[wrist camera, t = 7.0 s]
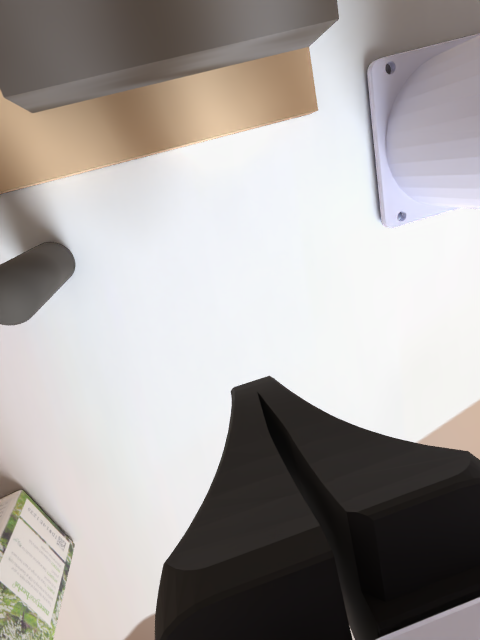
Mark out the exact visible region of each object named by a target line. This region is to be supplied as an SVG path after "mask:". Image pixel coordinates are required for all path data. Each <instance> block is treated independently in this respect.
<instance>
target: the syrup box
mask: <svg viewBox="0 0 480 640" xmlns="http://www.w3.org/2000/svg"><path fill="white" fill-rule="evenodd" d="M73 550H74V543H73V542H72V541H71V540H70V539H69V538H68V536H67V535H66V534H64V533H63V532H62V531H61V529H60V528H59V527H58V526H57V525H56V524H55V523H54V522H53V521H52V520H51V519H50V518H49V517H48V516H47V515H46V514H45V513H44V512H43V511H42V510H41V509H40V508H39V506H38V505H37V504H36V503H35V502H34V501H33V500H32V499H31V498H30V497H29V496H28V495H27V494H26V493H25V492H24V491H23V490H19V491H17V492H14V493H12V494H10V495H8V496H6V497H4V498H2V499H0V640H53V637H54V633H55V629H56V624H57V620H58V616H59V611H60V607H61V602H62V598H63V594H64V589H65V585H66V581H67V576H68V571H69V567H70V564H71V559H72V555H73Z"/></svg>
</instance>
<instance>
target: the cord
mask: <svg viewBox="0 0 480 640" xmlns="http://www.w3.org/2000/svg"><path fill="white" fill-rule="evenodd" d="M74 270H75V260H74V257H73V255H72V253H71V252H70V251H69V250H68V249H67V248H66V247H64V246H63V245H61V244H58V243H54V242H46V243H43V244H40V245H38V246H36V247H34V248H32V249H30V250H28V251H26V252H25V253H23V254H21V255H19V256H17V257H15V258H13V259H11V260H9V261H7V262H5V263H3V264H1V265H0V324H2V325H17V324H21V323H24V322H26V321H27V320H29V319H30V318H31V317H32V316H33V315H34V314H35V313H36V312H37V311H38V310H39V309H40V308H41V307H42V306H43V305H44V304H45V303H46V302H47V301H48V300H49V299H50V298H51V297H52V296H53V294H54V293H55V292H56V291H57V290H58V289H59V288H60V287H61V286H62V285H63V284H64V283H65V282H66V281H67V280H68V279H69V278H70V277H71V276H72V274H73V273H74Z"/></svg>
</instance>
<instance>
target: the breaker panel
mask: <svg viewBox="0 0 480 640" xmlns="http://www.w3.org/2000/svg"><path fill="white" fill-rule="evenodd" d="M338 19H339V15H338V6H337V0H0V194H3V193H7V192H11V191H14V190H18V189H22V188H26V187H30V186H34V185H38V184H41V183H45V182H49V181H53V180H57V179H61V178H65V177H69V176H72V175H76V174H80V173H84V172H88V171H92V170H96V169H99V168H103V167H107V166H111V165H115V164H119V163H123V162H126V161H130V160H134V159H138V158H142V157H146V156H150V155H154V154H157V153H161V152H165V151H169V150H173V149H177V148H181V147H184V146H188V145H192V144H196V143H200V142H204V141H208V140H211V139H215V138H219V137H223V136H227V135H231V134H235V133H239V132H242V131H246V130H250V129H254V128H258V127H262V126H266V125H269V124H273V123H277V122H281V121H285V120H289V119H293V118H296V117H300V116H304V115H308V114H311V113H313V112H315V111H317V110H318V107H317V100H316V93H315V86H314V79H313V72H312V65H311V58H310V51H309V46H310V45H311V44H312V43H313V42H315V41H316V40H317V39H318V38H319V37H320V36H321V35H322V34H323V33H324V32H325V31H326V30H327V29H328V28H330V27H331V26H332V25H333V24H334V23H335V22H336V21H337V20H338Z"/></svg>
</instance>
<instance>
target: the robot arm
mask: <svg viewBox="0 0 480 640" xmlns="http://www.w3.org/2000/svg"><path fill="white" fill-rule="evenodd" d="M386 64H389V65H390V67H391V72H390V74H388V73H387V72H386V70H385V68H386ZM367 77H368V87H369V98H370V108H371V118H372V129H373V139H374V149H375V160H376V170H377V180H378V191H379V201H380V211H381V221H382V224H383V225H384V226H385V227H387V228H395V227H399V226H402V225H405V224H409V223H412V222H416V221H419V220H422V219H426V218H429V217H432V216H436V215H439V214H443V213H446V212H449V211H453V210H456V209H460V208H470V209H480V33H479V34H475V35H471V36H467V37H463V38H459V39H455V40H451V41H447V42H443V43H439V44H435V45H430V46H426V47H422V48H418V49H414V50H410V51H406V52H402V53H398V54H394V55H390V56H386V57H382V58H379V59H377V60H375V61H373V62H372V63H371V64H370V65H369V68H368V71H367ZM400 212H401V213H402V217H401V219H400V220H398V218H397V217H398V214H399V213H400ZM231 395H232V408H231V417H230V424H229V430H228V435H227V439H226V443H225V447H224V451H223V454H222V457H221V461H220V463H219V466H218V469H217V472H216V474H215V477H214V479H213V482H212V484H211V486H210V489H209V491H208V493H207V495H206V497H205V499H204V501H203V503H202V505H201V507H200V509H199V510H198V512H197V514H196V516H195V518H194V519H193V521H192V523H191V525H190V527H189V528H188V530H187V531H186V533H185V535H184V536H183V537H182V539H181V540H180V542H179V543H178V545H177V546H176V548H175V549H174V551H173V552H172V553H171V555H170V556H169V558H168V559H167V560H166V562H165V563H164V565H163V570H162V575H161V580H160V585H159V592H158V598H157V606H156V615H155V640H352V636H351V631H350V628H351V630H352V633H353V636H354V638H355V640H480V460H479V459H478V458H476V457H475V456H473V455H472V454H471V453H470V452H468V451H462V450H455V449H449V448H442V447H435V446H428V445H423V444H418V443H414V442H409V441H405V440H400V439H396V438H392V437H389V436H385V435H382V434H379V433H375V432H372V431H369V430H366V429H363V428H360V427H358V426H355V425H352V424H350V423H348V422H345V421H343V420H340V419H338V418H336V417H334V416H332V415H330V414H328V413H326V412H324V411H322V410H320V409H318V408H317V407H315V406H313V405H312V404H310V403H308V402H307V401H305V400H303V399H302V398H300V397H299V396H297V395H296V394H294V393H293V392H291V391H290V390H288V389H287V388H286V387H284V386H283V385H282V384H280V383H279V382H278V381H276V380H275V379H274V378H272V377H270V376H267V377H264V378H261V379H258V380H255V381H252V382H249V383H246V384H243V385H240V386H237V387H234V388H233V389H232V390H231ZM349 625H350V627H349Z"/></svg>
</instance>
